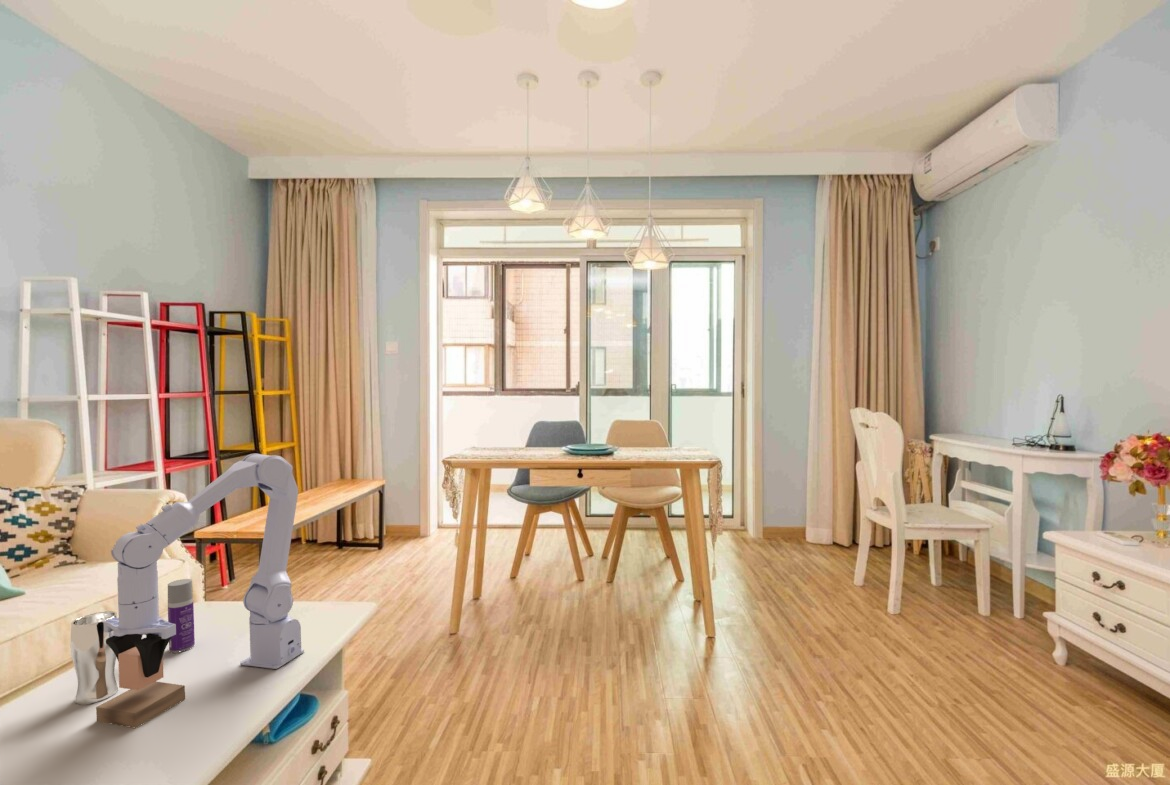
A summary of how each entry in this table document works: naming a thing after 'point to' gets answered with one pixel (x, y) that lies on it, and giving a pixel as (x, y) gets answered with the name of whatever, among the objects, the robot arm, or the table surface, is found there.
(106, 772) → the table surface
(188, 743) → the table surface
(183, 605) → the container
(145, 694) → the walnut base
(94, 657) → the beer glass
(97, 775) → the table surface
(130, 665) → the terracotta block
